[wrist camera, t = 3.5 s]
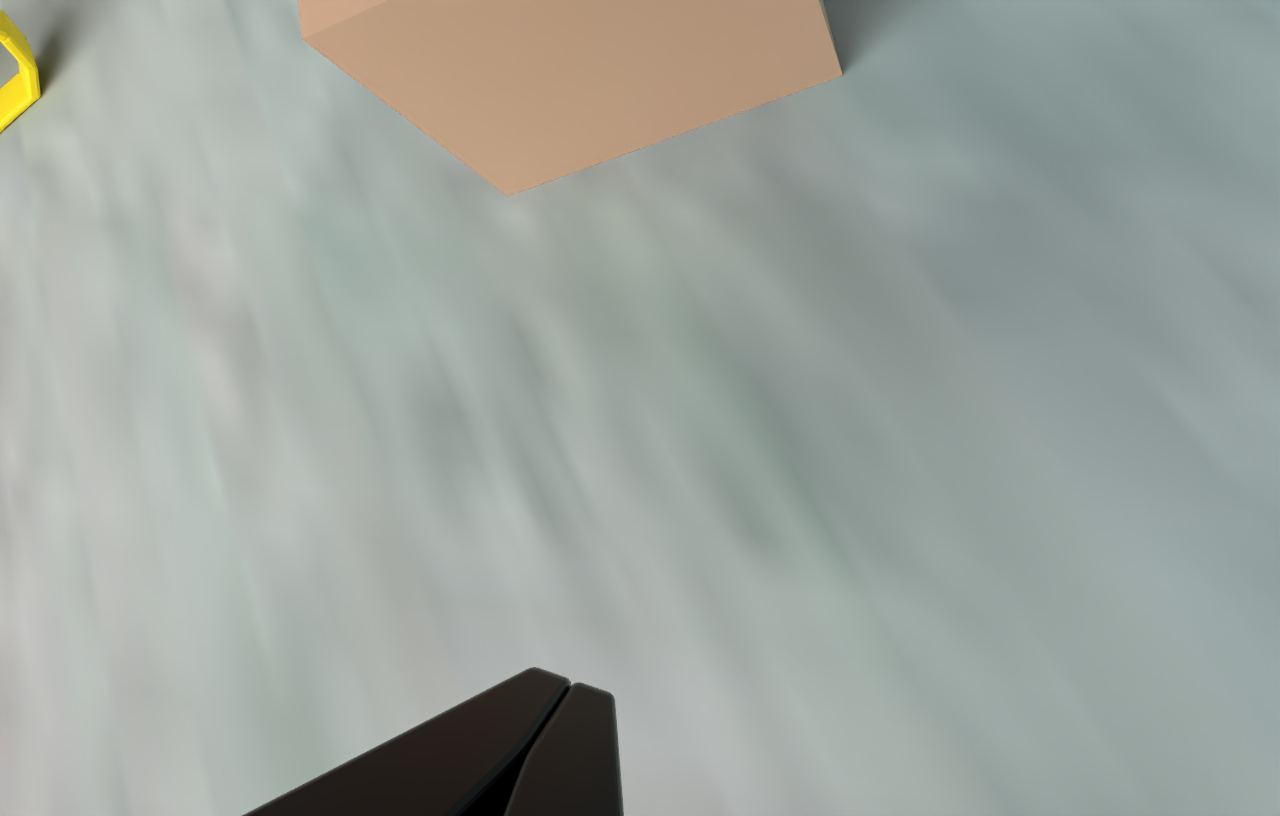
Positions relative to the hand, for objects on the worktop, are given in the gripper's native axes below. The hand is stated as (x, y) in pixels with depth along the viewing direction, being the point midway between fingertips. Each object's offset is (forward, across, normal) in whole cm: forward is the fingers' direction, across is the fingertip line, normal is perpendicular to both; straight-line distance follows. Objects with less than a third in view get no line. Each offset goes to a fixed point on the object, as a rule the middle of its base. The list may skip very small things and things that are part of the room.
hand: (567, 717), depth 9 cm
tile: (+17, +4, -5) cm, 19 cm away
